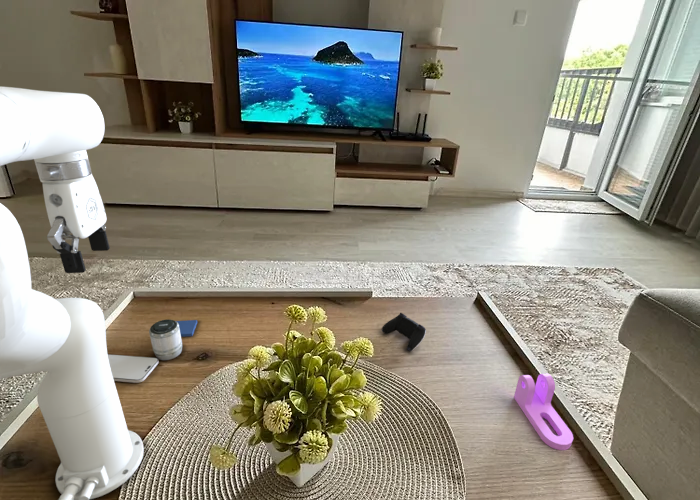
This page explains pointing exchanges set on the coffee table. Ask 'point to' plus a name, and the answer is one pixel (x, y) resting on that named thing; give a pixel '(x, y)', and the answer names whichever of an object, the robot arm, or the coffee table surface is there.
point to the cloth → (187, 327)
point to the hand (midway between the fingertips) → (89, 260)
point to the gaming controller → (406, 330)
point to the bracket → (542, 410)
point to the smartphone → (131, 367)
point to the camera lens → (166, 339)
